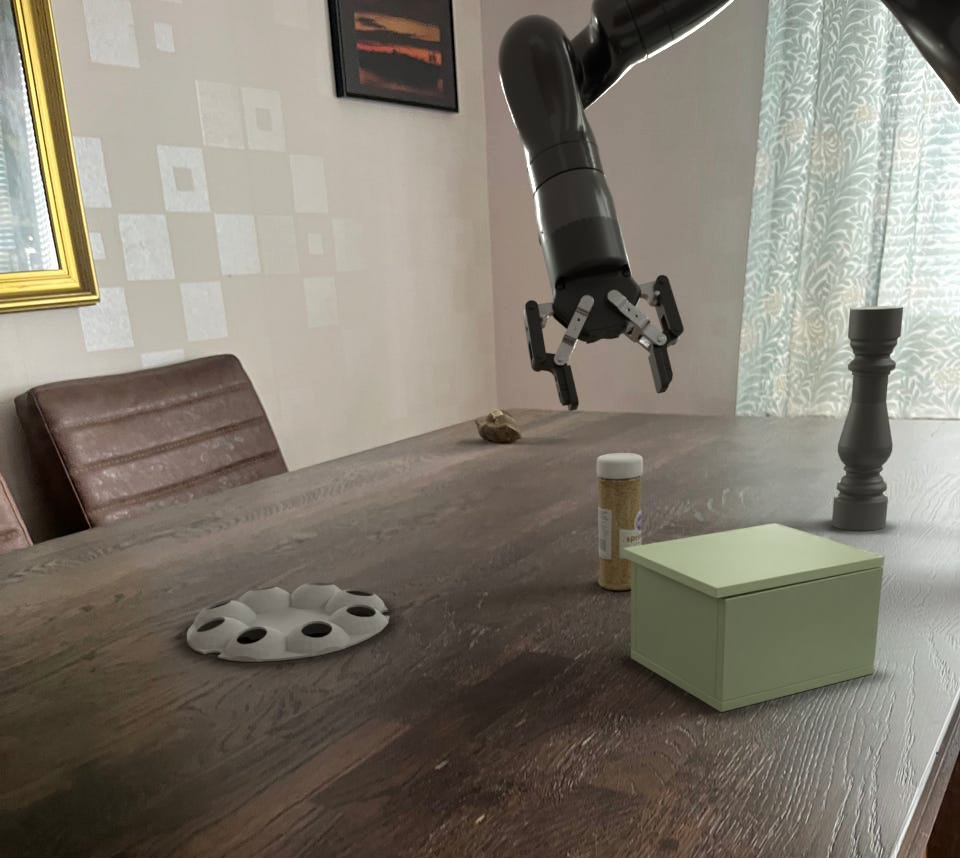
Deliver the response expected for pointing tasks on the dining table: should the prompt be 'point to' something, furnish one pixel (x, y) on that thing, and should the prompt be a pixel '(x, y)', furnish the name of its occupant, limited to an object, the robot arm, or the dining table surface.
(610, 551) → the sprinkles bottle
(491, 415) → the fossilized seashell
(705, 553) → the lid
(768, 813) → the dining table surface
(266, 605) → the round palette
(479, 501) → the dining table surface
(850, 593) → the chest
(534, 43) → the robot arm
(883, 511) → the candle holder
